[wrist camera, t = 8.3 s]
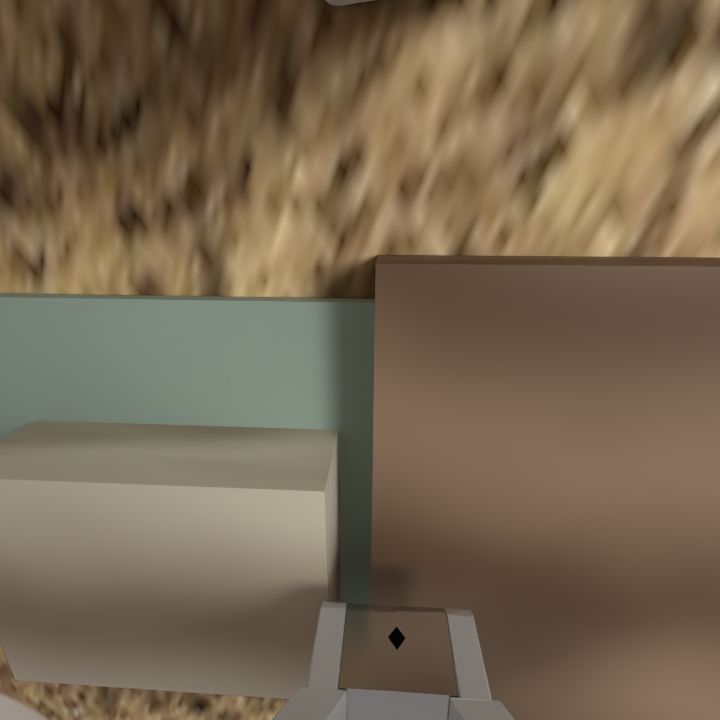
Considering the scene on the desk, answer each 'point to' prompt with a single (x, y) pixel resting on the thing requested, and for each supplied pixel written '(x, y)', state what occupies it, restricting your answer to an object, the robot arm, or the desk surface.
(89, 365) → the rubber mat
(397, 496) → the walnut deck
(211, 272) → the desk surface
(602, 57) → the desk surface
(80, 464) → the ash tile
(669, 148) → the desk surface
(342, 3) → the ceramic cup
